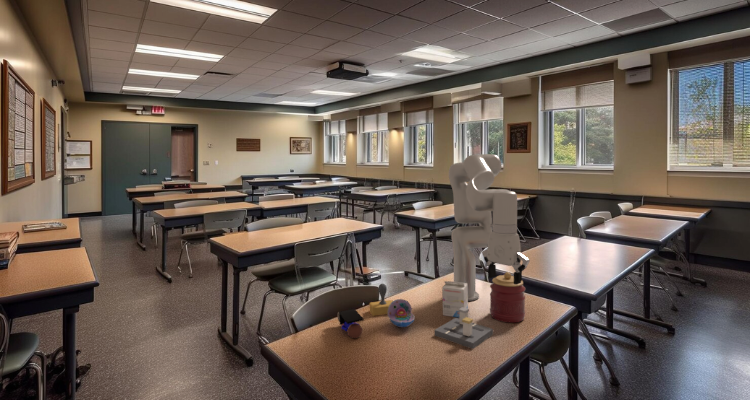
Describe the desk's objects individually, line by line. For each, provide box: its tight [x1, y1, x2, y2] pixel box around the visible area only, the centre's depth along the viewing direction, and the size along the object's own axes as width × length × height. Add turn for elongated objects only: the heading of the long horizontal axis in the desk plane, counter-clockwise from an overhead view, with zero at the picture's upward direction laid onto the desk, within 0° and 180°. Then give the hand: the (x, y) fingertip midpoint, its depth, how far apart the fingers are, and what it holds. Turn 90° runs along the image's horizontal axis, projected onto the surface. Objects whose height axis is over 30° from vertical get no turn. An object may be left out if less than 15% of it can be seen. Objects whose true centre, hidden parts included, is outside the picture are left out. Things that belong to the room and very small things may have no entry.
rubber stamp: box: [369, 283, 394, 317], centre depth 157 cm, size 10×6×12 cm, turn 104°
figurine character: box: [336, 308, 365, 339], centre depth 140 cm, size 7×8×15 cm
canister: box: [489, 271, 526, 324], centre depth 150 cm, size 13×13×18 cm
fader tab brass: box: [462, 316, 474, 336], centre depth 130 cm, size 3×3×5 cm
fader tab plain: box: [459, 307, 470, 324], centre depth 139 cm, size 3×3×5 cm
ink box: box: [441, 280, 469, 319], centre depth 154 cm, size 9×8×13 cm
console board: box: [434, 317, 494, 350], centre depth 135 cm, size 15×14×2 cm
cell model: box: [387, 298, 416, 328], centre depth 144 cm, size 10×12×10 cm
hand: (504, 280), depth 128 cm, fingers open, 9 cm apart
